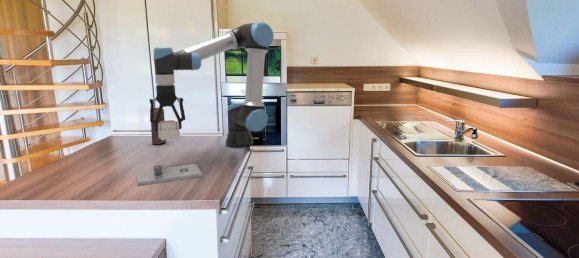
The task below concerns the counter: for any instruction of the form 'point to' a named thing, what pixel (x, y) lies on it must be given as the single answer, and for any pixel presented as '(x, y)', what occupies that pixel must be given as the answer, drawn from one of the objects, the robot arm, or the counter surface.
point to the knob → (168, 130)
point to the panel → (167, 174)
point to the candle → (154, 133)
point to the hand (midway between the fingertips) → (169, 137)
